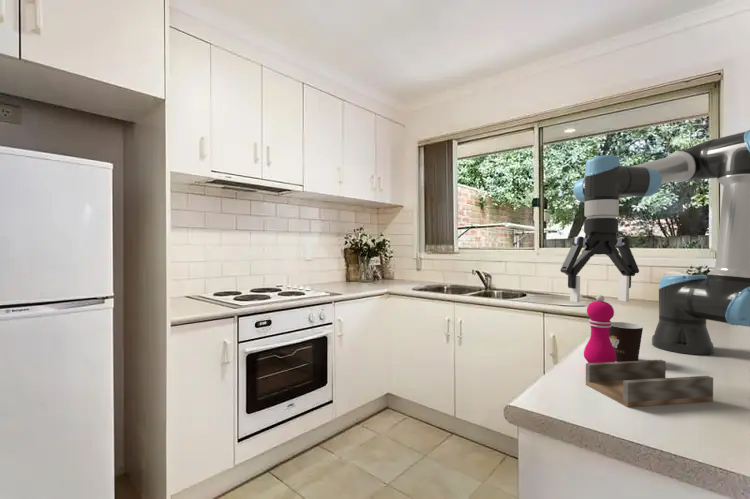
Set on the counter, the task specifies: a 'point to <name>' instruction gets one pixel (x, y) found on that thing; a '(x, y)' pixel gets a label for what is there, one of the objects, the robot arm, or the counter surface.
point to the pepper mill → (600, 332)
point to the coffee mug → (626, 340)
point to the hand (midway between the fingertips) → (599, 301)
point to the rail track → (646, 383)
